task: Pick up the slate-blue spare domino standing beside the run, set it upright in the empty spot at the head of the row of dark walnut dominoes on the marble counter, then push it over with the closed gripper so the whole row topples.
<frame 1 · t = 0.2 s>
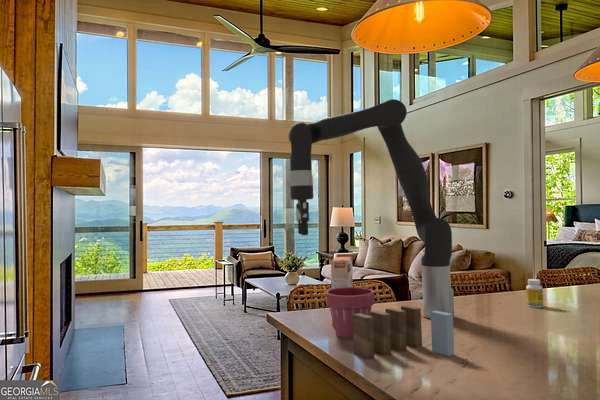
hand: (303, 234, 154), 29 cm above the worktop, tool pointing down, fingers open, 8 cm apart
domino b: (396, 348, 124), on the worktop
supplement bottle: (535, 306, 171), on the worktop
plant pot: (351, 335, 139), on the worktop
spare domino: (443, 352, 119), on the worktop
domino c: (380, 351, 121), on the worktop
domino a: (411, 344, 127), on the worktop
cracker box: (343, 322, 155), on the worktop
domino d: (363, 355, 119), on the worktop
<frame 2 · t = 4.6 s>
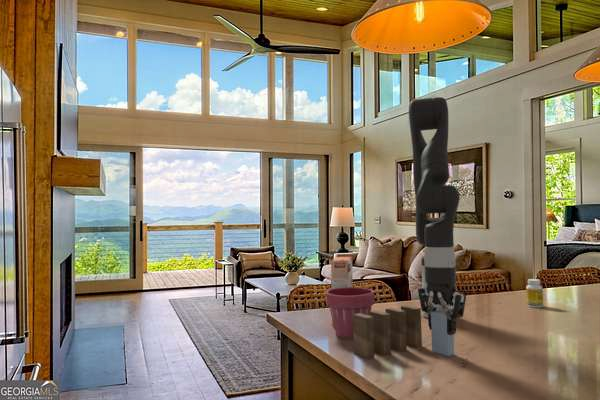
hand: (442, 331, 119), 5 cm above the worktop, tool pointing down, fingers closed on spare domino, 5 cm apart
spare domino: (443, 352, 119), on the worktop, touching gripper
everything else where it was.
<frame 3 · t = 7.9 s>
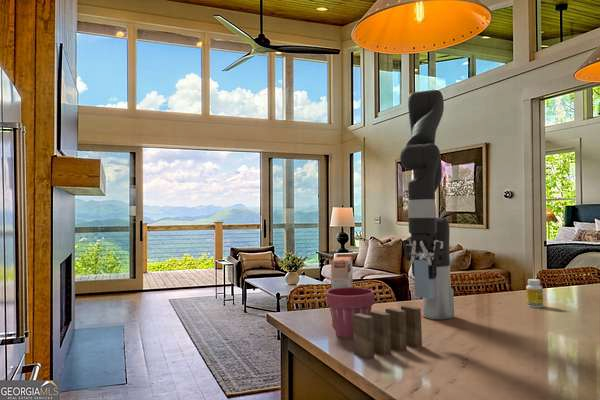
hand: (424, 277, 130), 17 cm above the worktop, tool pointing down, fingers closed on spare domino, 5 cm apart
spare domino: (424, 296, 130), point 12 cm above the worktop, touching gripper
everything else where it was.
when the fingers open (6 cm above the worktop, at t = 11.3 s): spare domino stays where it is, on the worktop.
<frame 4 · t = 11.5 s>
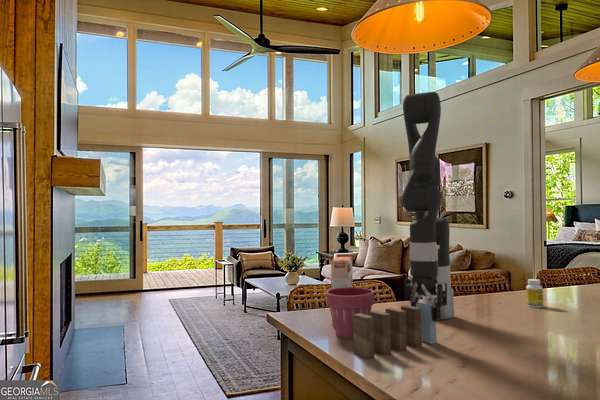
hand: (425, 318, 130), 6 cm above the worktop, tool pointing down, fingers open, 7 cm apart
spare domino: (426, 341, 130), on the worktop
everything else where it was.
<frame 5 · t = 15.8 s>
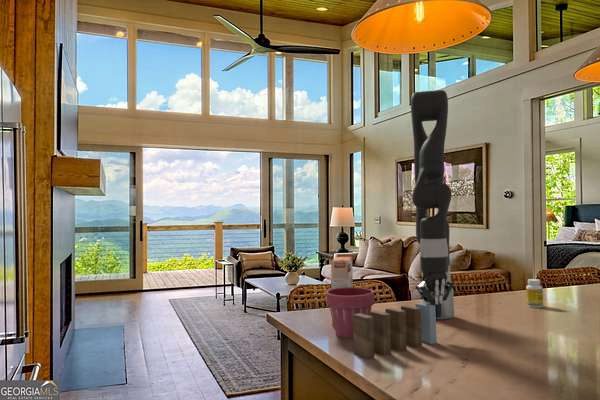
hand: (436, 317, 132), 6 cm above the worktop, tool pointing down, fingers closed
spare domino: (426, 341, 130), on the worktop, touching gripper
everything else where it was.
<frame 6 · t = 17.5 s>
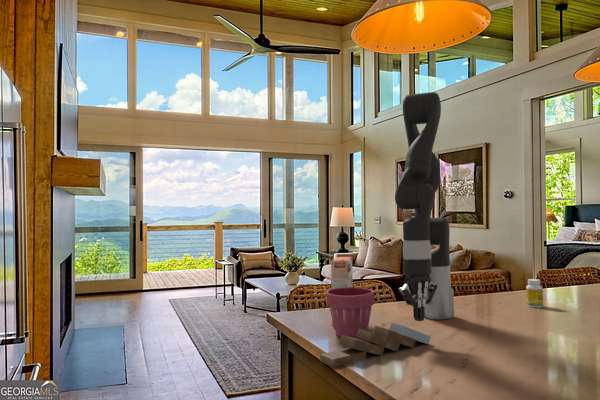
hand: (419, 320, 129), 6 cm above the worktop, tool pointing down, fingers closed
domino b: (391, 345, 123), point 1 cm above the worktop, tilted 66°, touching domino c
spare domino: (422, 338, 129), point 1 cm above the worktop, tilted 66°, touching domino a
domino c: (376, 348, 121), point 1 cm above the worktop, tilted 70°, touching domino b
domino a: (407, 341, 126), point 1 cm above the worktop, tilted 66°, touching spare domino
domino d: (359, 353, 118), point 1 cm above the worktop, tilted 90°
everything else where it was.
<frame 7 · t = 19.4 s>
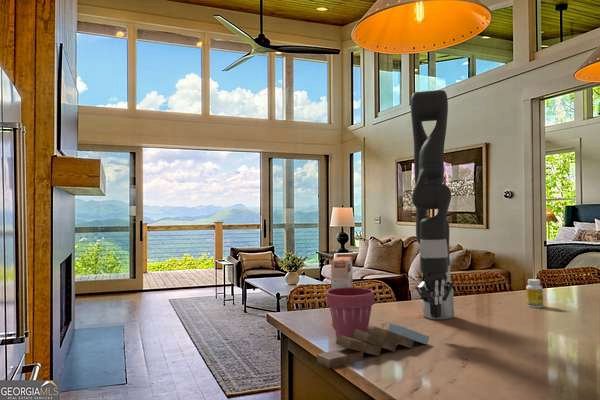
hand: (435, 317, 133), 6 cm above the worktop, tool pointing down, fingers closed
domino b: (389, 345, 123), point 1 cm above the worktop, tilted 67°, touching domino a, domino c
domino a: (406, 342, 126), point 1 cm above the worktop, tilted 67°, touching domino b, spare domino
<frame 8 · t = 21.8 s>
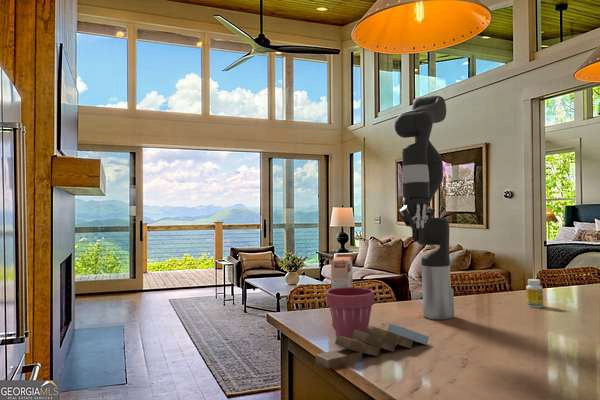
hand: (417, 241, 136), 27 cm above the worktop, tool pointing down, fingers closed
domino c: (372, 349, 120), point 1 cm above the worktop, tilted 69°, touching domino b, domino d
domino d: (355, 354, 117), point 1 cm above the worktop, tilted 90°, touching domino c
at the end: domino d tilted 90°; domino b tilted 67°; spare domino moved 10.3 cm from its start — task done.
